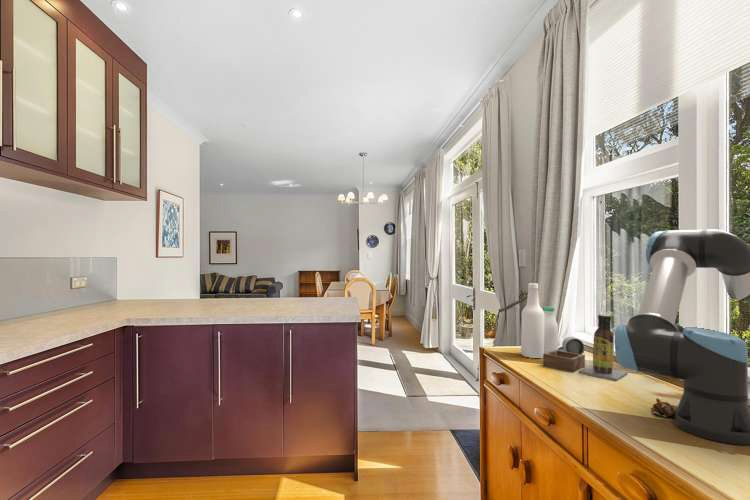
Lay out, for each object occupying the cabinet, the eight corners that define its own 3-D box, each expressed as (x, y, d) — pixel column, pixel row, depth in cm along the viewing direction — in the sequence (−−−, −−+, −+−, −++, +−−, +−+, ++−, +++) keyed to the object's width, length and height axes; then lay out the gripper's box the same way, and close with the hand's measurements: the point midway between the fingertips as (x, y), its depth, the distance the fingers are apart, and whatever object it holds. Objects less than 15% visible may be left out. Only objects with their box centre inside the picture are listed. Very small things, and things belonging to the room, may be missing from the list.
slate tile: (616, 381, 133) (616, 378, 133) (578, 373, 142) (578, 370, 142) (627, 374, 141) (627, 372, 141) (590, 367, 150) (590, 365, 150)
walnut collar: (573, 372, 143) (573, 359, 143) (543, 366, 151) (543, 354, 151) (584, 367, 150) (584, 355, 150) (555, 361, 158) (555, 349, 158)
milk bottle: (560, 354, 170) (560, 307, 170) (554, 357, 164) (555, 308, 164) (541, 351, 175) (542, 305, 175) (535, 354, 169) (536, 306, 169)
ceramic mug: (579, 353, 173) (579, 335, 173) (585, 357, 165) (584, 338, 165) (553, 352, 175) (552, 334, 175) (557, 356, 167) (557, 337, 167)
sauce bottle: (588, 369, 144) (589, 313, 144) (601, 368, 146) (601, 313, 146) (604, 374, 138) (605, 316, 138) (617, 373, 140) (618, 315, 140)
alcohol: (517, 356, 165) (518, 283, 166) (525, 352, 172) (526, 282, 172) (539, 360, 159) (540, 284, 160) (547, 356, 166) (547, 283, 167)
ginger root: (678, 408, 110) (678, 395, 110) (685, 423, 100) (685, 409, 100) (648, 403, 114) (648, 391, 114) (651, 417, 103) (651, 403, 103)
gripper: (712, 352, 135) (657, 354, 131) (649, 337, 159) (601, 338, 156) (712, 330, 135) (657, 331, 131) (649, 318, 160) (601, 319, 156)
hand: (627, 335), depth 144 cm, fingers open, 13 cm apart
